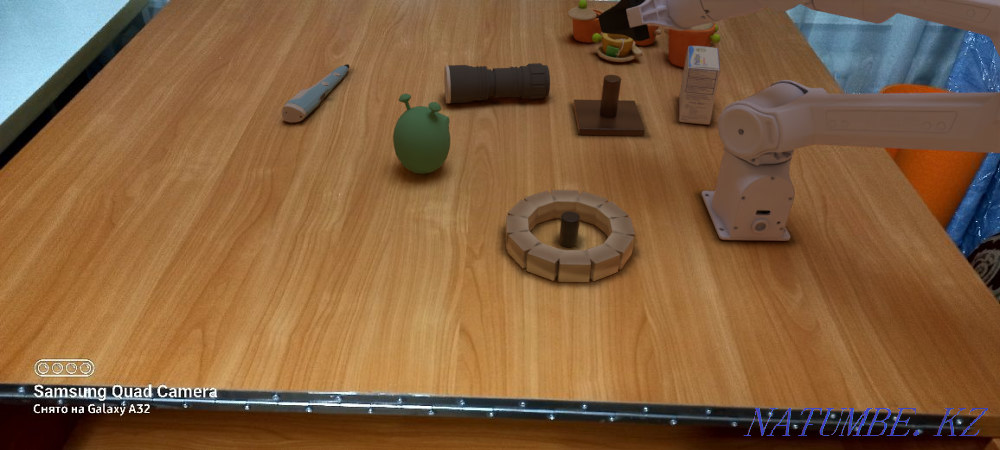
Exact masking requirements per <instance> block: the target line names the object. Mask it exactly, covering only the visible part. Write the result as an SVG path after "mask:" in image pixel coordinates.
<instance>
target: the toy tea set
mask: <svg viewBox="0 0 1000 450" xmlns="http://www.w3.org/2000/svg"><path fill="white" fill-rule="evenodd" d="M577 5H578V6H575V7H572V8H571V9H569V10H568V11H567V14H566V15H567V17H568V18H570V19H571V21H572V22H571V23H572V35H573V38H574V40H576V41H578V42H581V43H586V44H587V43H588V44H591V43H596V44H597V43H600V42H602V43H601V45H600V46H599V47H597V51H596V52H597V53H596V54H597V55H598V56H599V57H600V58H601V59H604V60H606V61H609V62H614V63H615V62H616V63H625V62H631V61H633V60H635V59H636V58H639V57H642V56H643V50H642V49H641V48H639V47H638V46H643V47H645V46H650V45H652V44H653V43H654V42H655V40H656V37H657V36H660V35H662V29H660V28H659V27H658V26H653V25H647V26H648V31H649V35H650V38H649V39H646V40H643V41H634V40H633V39H631V38H630V37H628V36H625V35H620V34H606V33H602V31H601V27H600V23H599V18H598V16H599V15H600V14H602V13H603V12H604V11H602V10H600V9H597V8H590V7H588V1H587V0H579V1H578V3H577ZM715 23H716V22H712V23H708V24H703V25H698V26H694V27H692V28H691V29H688V30H684V31H677V30H673V29H668V28H664V30H663V31H664V34H666V35H668V56H667V57H668V61H669V62H670V63H671V64H672V65H674V66H676V67H678V68H683V69H684V66H685V60H686V54H687V49H688V46H704V47H711V44H712V43H713V44H719V43H720V42H721V39H722V37H721V35H720V34H718V33H717V32H718V31H719V26H718V24H715Z"/></svg>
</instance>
